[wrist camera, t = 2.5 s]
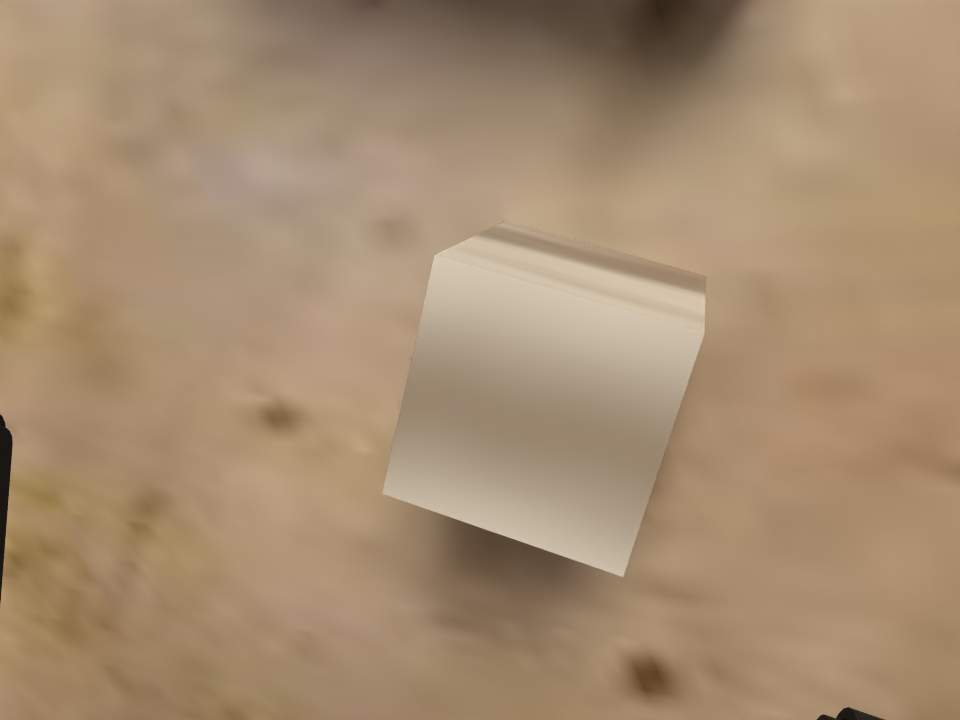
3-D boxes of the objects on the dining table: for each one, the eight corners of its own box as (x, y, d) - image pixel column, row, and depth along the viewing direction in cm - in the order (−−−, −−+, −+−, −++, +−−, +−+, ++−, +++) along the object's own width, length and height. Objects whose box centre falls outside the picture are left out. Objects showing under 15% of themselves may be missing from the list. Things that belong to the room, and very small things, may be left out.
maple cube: (507, 220, 21) (434, 255, 16) (706, 275, 20) (704, 333, 15) (462, 402, 23) (382, 493, 17) (645, 461, 22) (623, 576, 16)
